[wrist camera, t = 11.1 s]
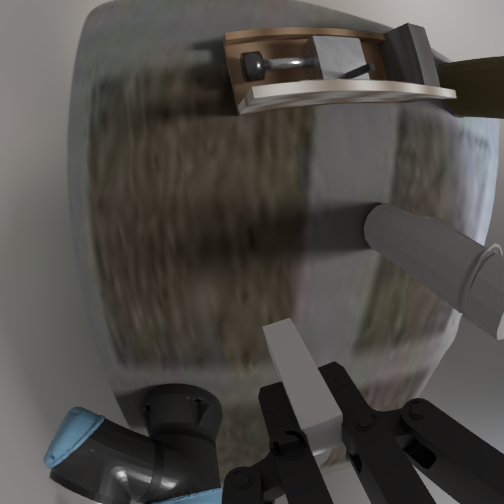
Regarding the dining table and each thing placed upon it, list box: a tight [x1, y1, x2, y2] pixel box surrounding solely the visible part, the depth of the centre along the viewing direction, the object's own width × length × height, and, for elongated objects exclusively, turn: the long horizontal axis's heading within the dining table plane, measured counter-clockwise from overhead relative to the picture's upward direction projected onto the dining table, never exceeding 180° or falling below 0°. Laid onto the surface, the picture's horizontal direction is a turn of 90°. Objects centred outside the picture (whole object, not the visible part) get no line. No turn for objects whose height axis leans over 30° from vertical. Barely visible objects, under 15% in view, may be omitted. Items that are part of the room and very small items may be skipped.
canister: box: [437, 56, 504, 119], centre depth 22 cm, size 11×10×20 cm
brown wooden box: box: [223, 23, 457, 116], centre depth 23 cm, size 24×10×12 cm, turn 101°
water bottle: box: [364, 203, 504, 340], centre depth 26 cm, size 9×8×25 cm
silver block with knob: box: [240, 36, 375, 83], centre depth 22 cm, size 14×6×9 cm, turn 101°
